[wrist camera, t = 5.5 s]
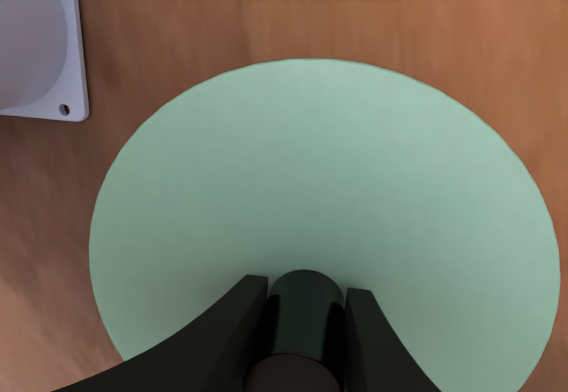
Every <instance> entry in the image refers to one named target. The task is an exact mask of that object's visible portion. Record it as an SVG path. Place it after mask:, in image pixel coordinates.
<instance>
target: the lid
mask: <svg viewBox="0 0 568 392" xmlns="http://www.w3.org/2000/svg"><path fill="white" fill-rule="evenodd" d="M89 264H90V276H91V281H92V286H93V292H94V297H95V300H96V303H97V306H98V309H99V312H100V315H101V318H102V321H103V323H104V325H105V327H106V330H107V332H108V334H109V336H110V338H111V340H112V342H113V344H114V346H115V347H116V349H117V350H118V352H119V354H120V355H121V357H122V358H123V360H124V362H125V361H127V360H129V359H131V358H133V357H135V356H136V355H138V354H140V353H142V352H144V351H146V350H148V349H150V348H152V347H154V346H155V345H157V344H159V343H160V342H162V341H164V340H165V339H167V338H169V337H170V336H172V335H173V334H175V333H176V332H178V331H179V330H180V329H182V328H183V327H185V326H186V325H187V324H189V323H190V322H191V321H193V320H194V319H195V318H197V317H198V316H199V315H201V314H202V313H203V312H204V311H206V310H207V309H208V308H209V307H210V306H211V305H213V304H214V303H215V302H216V301H217V300H219V299H220V298H221V297H222V296H223V295H224V294H225V293H227V292H228V291H229V290H230V289H231V288H232V287H233V286H234V285H235V284H236V283H237V282H238V281H240V280H241V279H242V278H243V277H244V276H245V275H247V274H249V275H257V276H265V277H268V292H267V302H266V305H265V309H264V312H263V315H262V318H261V322H260V325H259V328H258V331H257V335H256V338H255V341H254V345H253V348H252V351H251V354H250V358H249V361H248V364H247V367H246V371H245V374H244V377H243V383H242V387H243V392H344V353H345V342H344V311H345V303H346V296H347V289H348V287H349V288H357V289H365V290H370V291H371V292H372V293H373V294H374V296H375V298H376V300H377V302H378V304H379V306H380V308H381V310H382V311H383V313H384V315H385V316H386V318H387V320H388V322H389V323H390V325H391V326H392V328H393V330H394V331H395V333H396V334H397V336H398V337H399V339H400V340H401V342H402V343H403V345H404V346H405V347H406V349H407V350H408V352H409V353H410V354H411V356H412V357H413V358H414V360H415V361H416V362H417V364H418V365H419V366H420V367H421V369H422V370H423V371H424V372H425V374H426V375H427V376H428V377H429V378H430V380H431V381H432V382H433V383H434V384H435V385H436V386H437V387H438V388H439V389H440V391H441V392H517V391H518V390H519V389H520V388H521V386H522V385H523V384H524V383H525V382H526V380H527V378H528V377H529V375H530V374H531V372H532V371H533V369H534V367H535V366H536V364H537V363H538V361H539V360H540V357H541V355H542V353H543V351H544V348H545V346H546V344H547V341H548V339H549V337H550V335H551V331H552V327H553V323H554V320H555V316H556V312H557V308H558V299H559V289H560V264H559V250H558V244H557V240H556V236H555V232H554V228H553V223H552V219H551V216H550V214H549V211H548V209H547V207H546V204H545V202H544V200H543V197H542V195H541V193H540V190H539V188H538V186H537V185H536V183H535V181H534V180H533V178H532V177H531V175H530V173H529V172H528V170H527V169H526V167H525V165H524V164H523V162H522V161H521V159H520V158H519V157H518V156H517V155H516V153H515V152H514V151H513V150H512V149H511V148H510V146H509V145H508V144H507V143H506V142H505V141H504V140H503V138H502V137H501V136H500V135H499V134H498V133H497V132H496V131H495V130H494V129H493V128H491V127H490V126H489V125H488V124H487V123H486V122H484V121H483V120H482V119H481V118H480V117H478V116H477V115H476V114H475V113H474V112H473V111H471V110H470V109H469V108H467V107H466V106H464V105H462V104H461V103H459V102H458V101H456V100H454V99H453V98H451V97H450V96H448V95H446V94H445V93H443V92H442V91H440V90H438V89H436V88H434V87H432V86H430V85H428V84H425V83H423V82H421V81H418V80H416V79H414V78H412V77H409V76H407V75H405V74H403V73H400V72H396V71H393V70H389V69H386V68H382V67H379V66H375V65H372V64H368V63H362V62H355V61H348V60H341V59H334V58H290V59H283V60H276V61H268V62H261V63H256V64H253V65H249V66H246V67H242V68H239V69H235V70H232V71H228V72H225V73H222V74H220V75H217V76H215V77H213V78H211V79H208V80H206V81H204V82H202V83H199V84H197V85H195V86H193V87H191V88H189V89H188V90H186V91H185V92H183V93H182V94H180V95H178V96H177V97H175V98H174V99H172V100H171V101H169V102H167V103H166V104H164V105H163V106H162V107H161V108H160V109H159V110H158V111H156V112H155V113H154V114H153V115H152V116H151V117H150V118H148V119H147V120H146V121H145V122H144V123H143V124H142V125H141V126H140V127H139V128H138V129H137V130H136V132H135V133H134V134H133V135H132V136H131V138H130V139H129V140H128V141H127V142H126V143H125V145H124V146H123V147H122V149H121V150H120V152H119V154H118V155H117V157H116V159H115V160H114V162H113V164H112V165H111V167H110V168H109V170H108V172H107V175H106V177H105V179H104V182H103V184H102V187H101V189H100V191H99V194H98V196H97V200H96V204H95V208H94V212H93V216H92V220H91V229H90V239H89Z"/></svg>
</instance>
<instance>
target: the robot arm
mask: <svg viewBox="0 0 568 392" xmlns="http://www.w3.org/2000/svg"><path fill="white" fill-rule="evenodd" d="M64 105H67V106H68V107H69V110H70V112H69V114H68V113H67V112H66V111H65V109H64ZM0 115H11V116H22V117H32V118H43V119H53V120H64V121H74V122H78V121H83V120H85V119H86V118H87V117H88V115H89V103H88V93H87V83H86V74H85V64H84V54H83V44H82V34H81V24H80V14H79V4H78V0H0ZM267 292H268V277H265V276H257V275H249V274H247V275H245V276H244V277H243V278H242V279H241V280H240V281H238V282H237V283H236V284H235V285H234V286H233V287H232V288H231V289H230V290H229V291H228V292H227V293H225V294H224V295H223V296H222V297H221V298H220V299H219V300H217V301H216V302H215V303H214V304H213V305H211V306H210V307H209V308H208V309H207V310H206V311H204V312H203V313H202V314H201V315H199V316H198V317H197V318H195V319H194V320H193V321H191V322H190V323H189V324H187V325H186V326H185V327H183V328H182V329H180V330H179V331H178V332H176V333H175V334H173V335H172V336H170V337H169V338H167V339H165V340H164V341H162V342H160V343H159V344H157V345H155V346H154V347H152V348H150V349H148V350H146V351H144V352H142V353H140V354H138V355H136V356H135V357H133V358H131V359H129V360H127V361H125V362H123V363H121V364H119V365H117V366H115V367H112V368H110V369H108V370H106V371H103V372H101V373H99V374H96V375H94V376H92V377H89V378H87V379H84V380H82V381H79V382H76V383H74V384H71V385H69V386H66V387H63V388H60V389H57V390H54V391H51V392H243V387H242V383H243V377H244V374H245V371H246V367H247V364H248V361H249V358H250V354H251V351H252V348H253V345H254V341H255V338H256V335H257V331H258V328H259V325H260V322H261V318H262V315H263V312H264V309H265V305H266V302H267ZM344 342H345V353H344V392H441V391H440V389H439V388H438V387H437V386H436V385H435V384H434V383H433V382H432V381H431V380H430V378H429V377H428V376H427V375H426V374H425V372H424V371H423V370H422V369H421V367H420V366H419V365H418V364H417V362H416V361H415V360H414V358H413V357H412V356H411V354H410V353H409V352H408V350H407V349H406V347H405V346H404V345H403V343H402V342H401V340H400V339H399V337H398V336H397V334H396V333H395V331H394V330H393V328H392V326H391V325H390V323H389V322H388V320H387V318H386V316H385V315H384V313H383V311H382V310H381V308H380V306H379V304H378V302H377V300H376V298H375V296H374V294H373V293H372V292H371V291H370V290H365V289H357V288H349V287H348V289H347V296H346V303H345V311H344Z"/></svg>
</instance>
